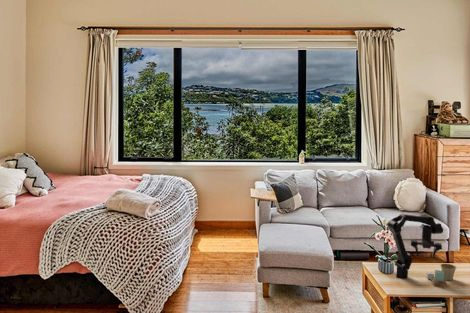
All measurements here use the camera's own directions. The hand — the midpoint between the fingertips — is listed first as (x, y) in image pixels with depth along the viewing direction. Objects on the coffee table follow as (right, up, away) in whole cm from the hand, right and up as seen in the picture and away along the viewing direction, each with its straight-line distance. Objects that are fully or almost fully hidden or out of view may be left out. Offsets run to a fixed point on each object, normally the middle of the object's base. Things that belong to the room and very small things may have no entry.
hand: (425, 257), depth 287 cm
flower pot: (+12, -13, -6) cm, 19 cm away
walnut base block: (+2, -14, -15) cm, 20 cm away
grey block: (0, -13, -5) cm, 14 cm away
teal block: (+2, -11, -15) cm, 18 cm away
